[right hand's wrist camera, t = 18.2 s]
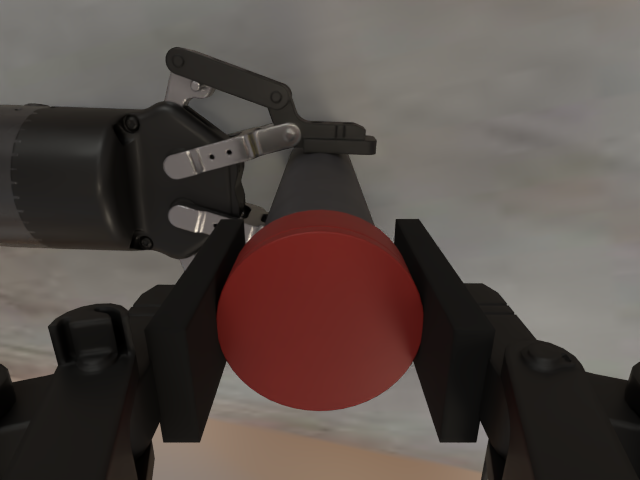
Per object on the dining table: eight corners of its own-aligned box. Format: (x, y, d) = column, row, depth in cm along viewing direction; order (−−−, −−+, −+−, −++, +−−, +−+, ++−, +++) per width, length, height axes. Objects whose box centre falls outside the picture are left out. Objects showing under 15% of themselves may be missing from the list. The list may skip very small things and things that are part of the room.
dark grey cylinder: (279, 182, 29) (218, 345, 12) (302, 124, 28) (271, 208, 10) (335, 204, 30) (359, 392, 12) (360, 149, 28) (427, 269, 11)
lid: (428, 223, 11) (447, 248, 10) (389, 378, 13) (399, 421, 11) (236, 195, 11) (222, 216, 9) (223, 358, 13) (209, 399, 11)
